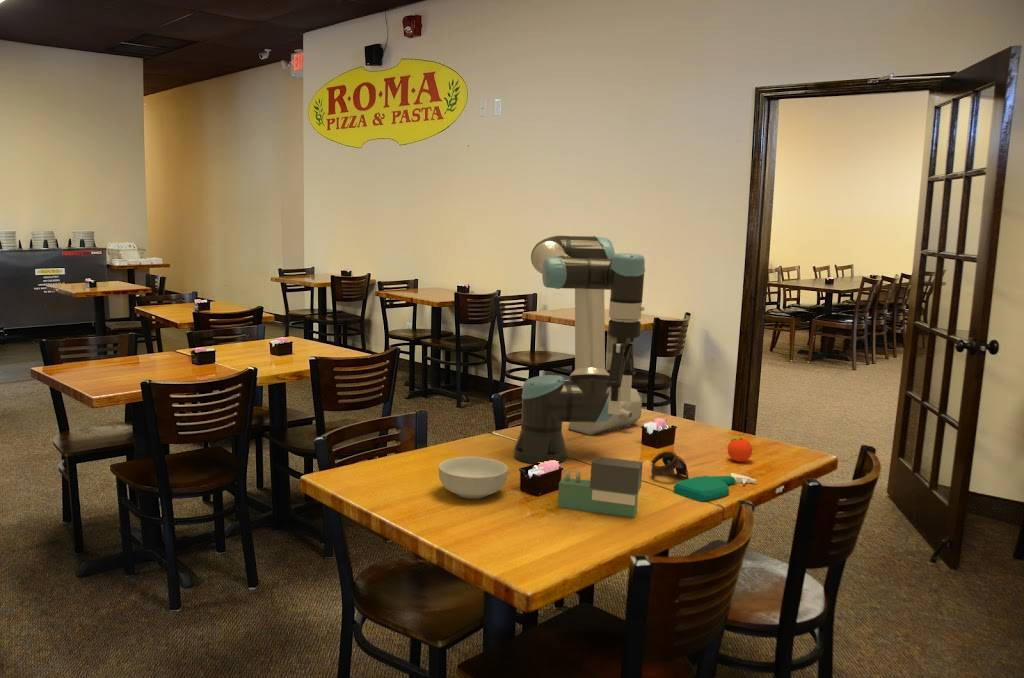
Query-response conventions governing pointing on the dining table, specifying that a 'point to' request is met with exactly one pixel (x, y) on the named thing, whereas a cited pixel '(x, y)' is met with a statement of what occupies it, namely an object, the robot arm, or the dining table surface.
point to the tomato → (739, 449)
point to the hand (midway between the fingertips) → (619, 407)
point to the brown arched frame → (669, 464)
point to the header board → (595, 498)
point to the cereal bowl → (472, 476)
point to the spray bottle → (709, 486)
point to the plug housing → (616, 475)
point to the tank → (613, 417)
